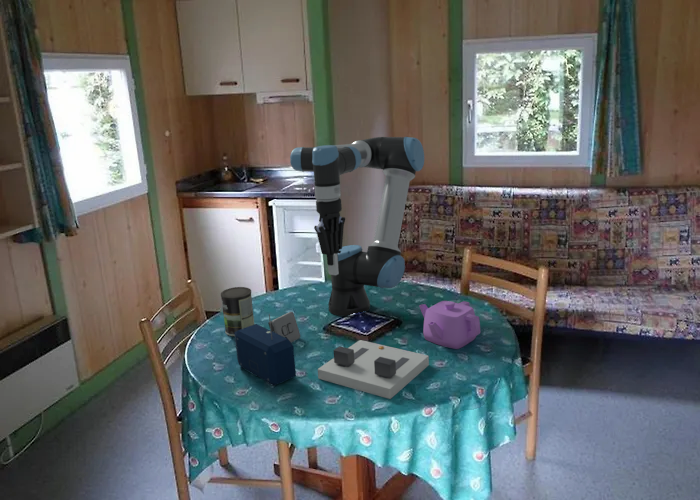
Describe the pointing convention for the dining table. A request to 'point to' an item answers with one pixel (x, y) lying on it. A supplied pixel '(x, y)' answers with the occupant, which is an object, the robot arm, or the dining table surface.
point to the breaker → (385, 367)
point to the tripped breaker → (344, 356)
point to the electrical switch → (286, 326)
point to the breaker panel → (364, 370)
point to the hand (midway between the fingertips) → (333, 274)
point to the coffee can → (237, 309)
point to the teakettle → (450, 324)
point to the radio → (265, 354)
